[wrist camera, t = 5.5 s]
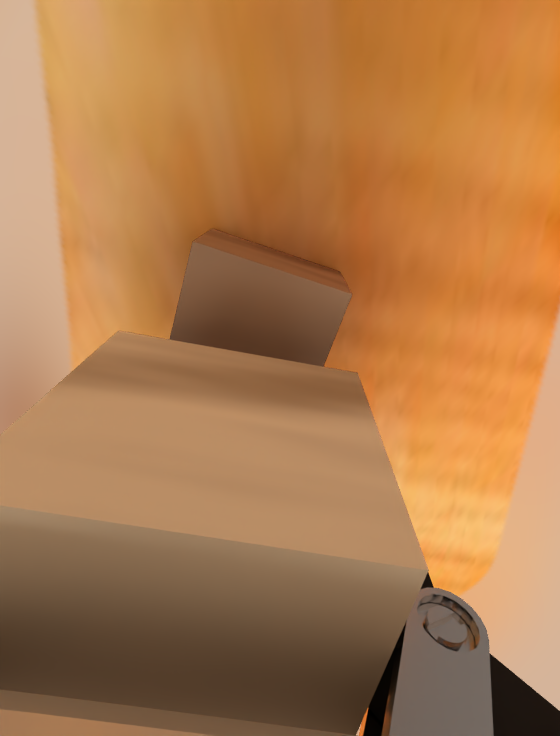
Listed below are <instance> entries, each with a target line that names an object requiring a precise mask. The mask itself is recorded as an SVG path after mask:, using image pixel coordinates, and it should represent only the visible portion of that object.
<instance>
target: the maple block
mask: <svg viewBox="0 0 560 736" xmlns="http://www.w3.org/2000/svg"><path fill="white" fill-rule="evenodd" d="M428 571H429V570H428V567H427V564H426V562H425V559H424V556H423V553H422V550H421V548H420V545H419V542H418V539H417V537H416V534H415V531H414V528H413V525H412V523H411V520H410V517H409V514H408V512H407V509H406V506H405V503H404V500H403V498H402V495H401V492H400V489H399V487H398V484H397V481H396V478H395V475H394V473H393V470H392V467H391V464H390V461H389V459H388V456H387V453H386V450H385V448H384V445H383V442H382V439H381V436H380V434H379V431H378V428H377V425H376V423H375V420H374V417H373V414H372V411H371V409H370V406H369V403H368V400H367V398H366V395H365V392H364V389H363V386H362V384H361V381H360V378H359V375H358V373H356V372H350V371H345V370H339V369H333V368H328V367H322V366H316V365H311V364H305V363H299V362H294V361H288V360H282V359H277V358H271V357H265V356H260V355H254V354H248V353H243V352H237V351H231V350H226V349H220V348H214V347H209V346H203V345H197V344H192V343H186V342H180V341H175V340H169V339H163V338H158V337H152V336H146V335H141V334H135V333H129V332H124V331H117V332H116V333H115V334H114V335H113V336H112V337H111V338H110V339H108V340H107V341H106V342H105V343H104V344H103V345H102V346H100V347H99V348H98V349H97V350H96V351H95V352H94V353H92V354H91V355H90V356H89V357H88V358H87V359H86V360H85V361H83V362H82V363H81V364H80V365H79V366H78V367H77V368H75V369H74V370H73V371H72V372H71V373H70V374H69V375H67V376H66V377H65V378H64V379H63V380H62V381H61V382H60V383H58V384H57V385H56V386H55V387H54V388H53V389H52V390H50V391H49V392H48V393H47V394H46V395H45V396H44V397H43V398H41V399H40V400H39V401H38V402H37V403H36V404H35V405H33V406H32V407H31V408H30V409H29V410H28V411H27V412H25V413H24V414H23V415H22V416H21V417H20V418H19V419H18V420H16V421H15V422H14V423H13V424H12V425H11V426H10V427H8V428H7V429H6V430H5V431H4V432H3V433H2V434H0V690H8V691H16V692H25V693H33V694H41V695H49V696H57V697H65V698H73V699H81V700H89V701H97V702H105V703H112V704H120V705H128V706H136V707H144V708H152V709H159V710H167V711H175V712H183V713H190V714H198V715H206V716H214V717H222V718H229V719H237V720H244V721H252V722H259V723H267V724H274V725H282V726H289V727H296V728H304V729H311V730H319V731H326V732H334V733H341V734H349V735H356V733H357V731H358V729H359V727H360V724H361V722H362V720H363V718H364V715H365V713H366V711H367V708H368V706H369V704H370V702H371V699H372V697H373V695H374V693H375V690H376V688H377V686H378V684H379V681H380V679H381V677H382V675H383V672H384V670H385V668H386V666H387V663H388V661H389V659H390V657H391V654H392V652H393V650H394V648H395V645H396V643H397V641H398V638H399V636H400V634H401V632H402V629H403V627H404V625H405V623H406V620H407V618H408V616H409V614H410V611H411V609H412V607H413V605H414V602H415V600H416V598H417V596H418V593H419V591H420V589H421V587H422V584H423V582H424V580H425V578H426V575H427V573H428Z"/></svg>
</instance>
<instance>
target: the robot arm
mask: <svg viewBox="0 0 560 736" xmlns="http://www.w3.org/2000/svg"><path fill="white" fill-rule="evenodd" d="M0 736H356V735H349V734H341V733H334V732H326V731H319V730H311V729H304V728H296V727H289V726H282V725H274V724H267V723H259V722H252V721H244V720H237V719H229V718H222V717H214V716H206V715H198V714H190V713H183V712H175V711H167V710H159V709H152V708H144V707H136V706H128V705H120V704H112V703H105V702H97V701H89V700H81V699H73V698H65V697H57V696H49V695H41V694H33V693H25V692H16V691H8V690H0ZM359 736H560V711H559V710H558V709H556V708H555V707H554V706H553V705H552V704H550V703H549V702H548V701H547V700H546V699H544V698H543V697H542V696H541V695H539V694H538V693H537V692H536V691H535V690H533V689H532V688H531V687H530V686H529V685H527V684H526V683H525V682H524V681H522V680H521V679H520V678H519V677H518V676H516V675H515V674H514V673H513V672H512V671H510V670H509V669H508V668H507V667H505V666H504V665H503V664H502V663H501V662H499V661H498V660H497V659H496V658H494V657H493V656H492V655H491V654H490V653H489V639H488V634H487V630H486V628H485V626H484V624H483V622H482V620H481V618H480V617H479V616H478V615H477V613H476V612H475V611H474V610H473V608H472V607H470V606H469V605H468V604H467V603H466V602H465V601H463V600H462V599H461V598H459V597H458V596H456V595H454V594H452V593H451V592H448V591H445V590H442V589H439V588H434V587H433V584H432V582H431V579H430V576H429V573H427V575H426V578H425V580H424V582H423V584H422V587H421V589H420V591H419V593H418V596H417V598H416V600H415V602H414V605H413V607H412V609H411V611H410V614H409V616H408V618H407V620H406V623H405V625H404V627H403V629H402V632H401V634H400V636H399V638H398V641H397V643H396V645H395V648H394V650H393V652H392V654H391V657H390V659H389V661H388V663H387V666H386V668H385V670H384V672H383V675H382V677H381V679H380V681H379V684H378V686H377V688H376V690H375V693H374V695H373V697H372V699H371V702H370V704H369V706H368V708H367V711H366V713H365V715H364V718H363V720H362V723H361V728H360V732H359Z"/></svg>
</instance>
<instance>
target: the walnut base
mask: <svg viewBox="0 0 560 736" xmlns="http://www.w3.org/2000/svg"><path fill="white" fill-rule="evenodd" d="M351 297H352V293H351V291H350V289H349V287H348V285H347V284H346V282H345V280H344V278H343V276H342V274H341V273H340V272H339V271H336V270H334V269H331V268H328V267H325V266H322V265H319V264H316V263H313V262H310V261H307V260H304V259H301V258H298V257H295V256H292V255H289V254H286V253H283V252H280V251H277V250H274V249H271V248H268V247H265V246H262V245H260V244H257V243H254V242H251V241H248V240H245V239H242V238H239V237H236V236H233V235H230V234H227V233H224V232H221V231H218V230H215V229H210V230H209V231H207V232H206V233H204V234H203V235H201V236H200V237H198V238H197V239H195V240H194V241H193V242H192V247H191V251H190V255H189V259H188V263H187V268H186V272H185V276H184V280H183V285H182V289H181V293H180V297H179V302H178V306H177V310H176V314H175V319H174V323H173V327H172V331H171V336H170V340H175V341H180V342H186V343H192V344H197V345H203V346H209V347H214V348H220V349H226V350H231V351H237V352H243V353H248V354H254V355H260V356H265V357H271V358H277V359H282V360H288V361H294V362H299V363H305V364H311V365H316V366H322V367H323V366H324V364H325V361H326V359H327V356H328V354H329V351H330V349H331V346H332V344H333V341H334V339H335V336H336V334H337V331H338V329H339V326H340V324H341V321H342V319H343V316H344V314H345V311H346V309H347V306H348V304H349V302H350V299H351Z"/></svg>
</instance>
